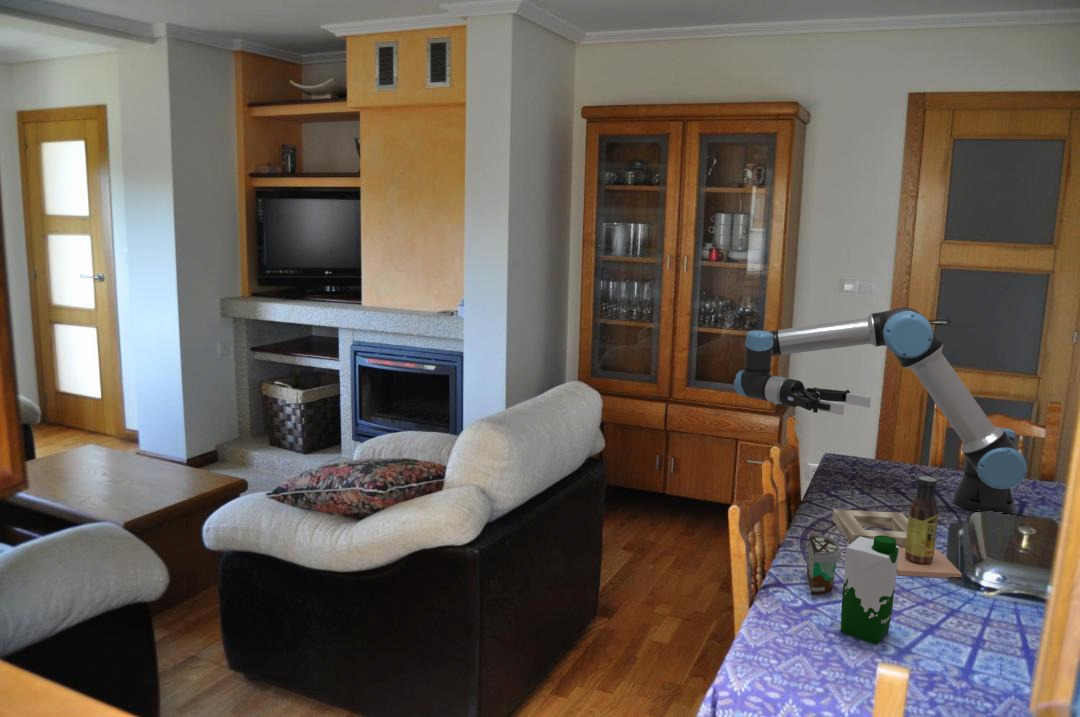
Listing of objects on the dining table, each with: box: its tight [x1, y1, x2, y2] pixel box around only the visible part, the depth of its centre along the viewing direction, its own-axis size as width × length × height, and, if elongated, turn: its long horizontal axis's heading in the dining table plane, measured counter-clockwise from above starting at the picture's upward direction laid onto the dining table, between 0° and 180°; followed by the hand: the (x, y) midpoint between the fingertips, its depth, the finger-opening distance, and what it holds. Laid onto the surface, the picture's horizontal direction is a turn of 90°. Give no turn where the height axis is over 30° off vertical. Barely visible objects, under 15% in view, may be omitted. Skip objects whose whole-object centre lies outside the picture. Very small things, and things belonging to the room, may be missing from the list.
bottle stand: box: [831, 509, 909, 548], centre depth 219 cm, size 18×18×3 cm
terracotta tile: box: [896, 547, 963, 579], centre depth 201 cm, size 14×14×1 cm
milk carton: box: [840, 535, 900, 645], centre depth 167 cm, size 9×9×20 cm
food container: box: [806, 532, 842, 595], centre depth 188 cm, size 12×6×10 cm, turn 168°
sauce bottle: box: [905, 476, 940, 564], centre depth 200 cm, size 6×6×20 cm
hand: (856, 406), depth 222 cm, fingers open, 13 cm apart
